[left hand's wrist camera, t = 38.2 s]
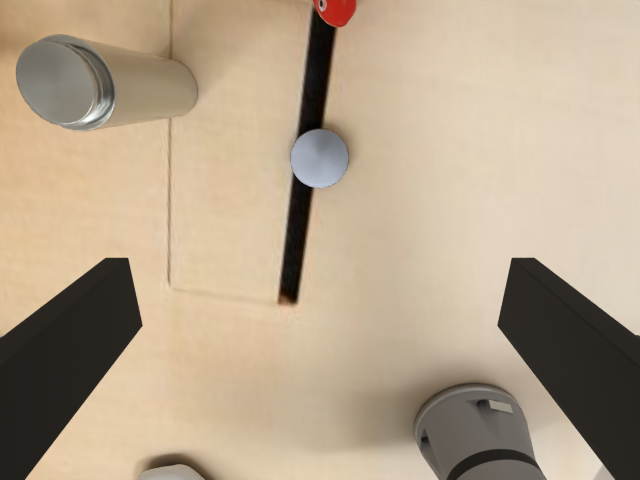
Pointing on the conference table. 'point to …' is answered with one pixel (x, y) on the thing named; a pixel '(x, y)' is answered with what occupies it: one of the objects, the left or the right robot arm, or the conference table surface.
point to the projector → (170, 473)
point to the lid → (319, 158)
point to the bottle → (101, 84)
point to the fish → (336, 11)
